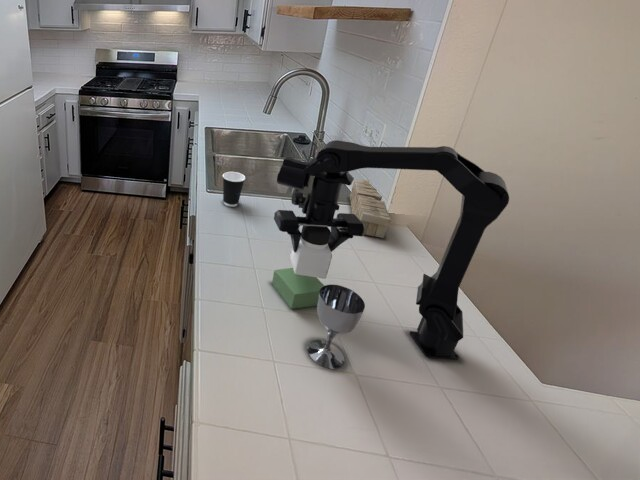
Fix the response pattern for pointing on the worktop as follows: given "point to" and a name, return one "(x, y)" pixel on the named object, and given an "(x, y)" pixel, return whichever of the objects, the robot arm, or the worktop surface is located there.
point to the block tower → (369, 208)
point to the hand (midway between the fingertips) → (310, 252)
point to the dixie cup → (232, 187)
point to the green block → (296, 288)
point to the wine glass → (335, 322)
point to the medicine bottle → (312, 252)
